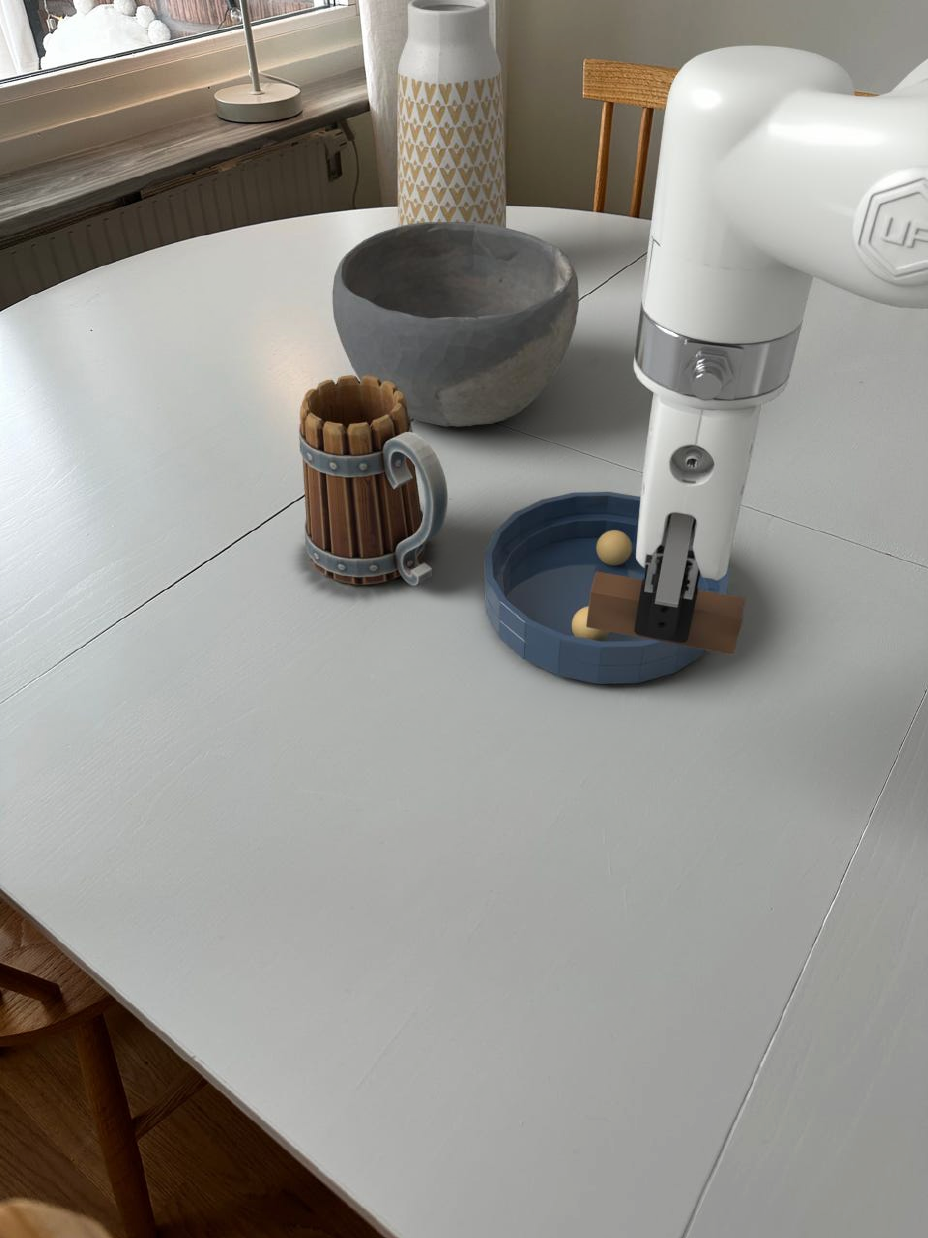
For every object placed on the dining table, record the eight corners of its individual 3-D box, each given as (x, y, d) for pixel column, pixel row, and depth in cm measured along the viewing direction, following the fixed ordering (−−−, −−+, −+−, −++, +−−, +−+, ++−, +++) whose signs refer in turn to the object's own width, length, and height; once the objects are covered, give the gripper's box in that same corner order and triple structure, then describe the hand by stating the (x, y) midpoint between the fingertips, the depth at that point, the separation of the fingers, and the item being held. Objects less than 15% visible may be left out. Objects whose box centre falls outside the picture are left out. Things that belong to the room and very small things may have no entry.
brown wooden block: (735, 633, 60) (745, 597, 58) (733, 656, 59) (743, 619, 57) (591, 606, 62) (596, 570, 60) (585, 627, 61) (590, 591, 59)
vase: (394, 256, 133) (379, -8, 112) (493, 248, 135) (496, -13, 114) (408, 299, 123) (394, 19, 102) (515, 290, 125) (522, 12, 104)
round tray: (730, 553, 85) (739, 512, 82) (705, 711, 72) (715, 669, 69) (517, 517, 90) (518, 476, 87) (456, 660, 76) (455, 618, 73)
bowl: (581, 463, 96) (593, 319, 86) (333, 466, 96) (315, 322, 86) (561, 344, 114) (569, 214, 104) (352, 347, 114) (340, 217, 104)
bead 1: (612, 630, 78) (615, 602, 76) (605, 656, 76) (608, 627, 74) (574, 623, 78) (577, 595, 76) (566, 648, 76) (569, 620, 74)
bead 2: (632, 553, 85) (636, 526, 83) (626, 575, 83) (630, 547, 81) (598, 547, 85) (601, 520, 83) (591, 569, 83) (594, 541, 81)
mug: (283, 547, 87) (258, 397, 77) (377, 500, 92) (365, 353, 82) (393, 638, 78) (380, 482, 68) (490, 580, 83) (492, 427, 73)
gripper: (788, 442, 41) (714, 729, 54) (799, 283, 52) (735, 552, 65) (611, 417, 42) (578, 702, 55) (658, 268, 54) (622, 533, 66)
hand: (663, 619), depth 60 cm, fingers closed on brown wooden block, 2 cm apart
